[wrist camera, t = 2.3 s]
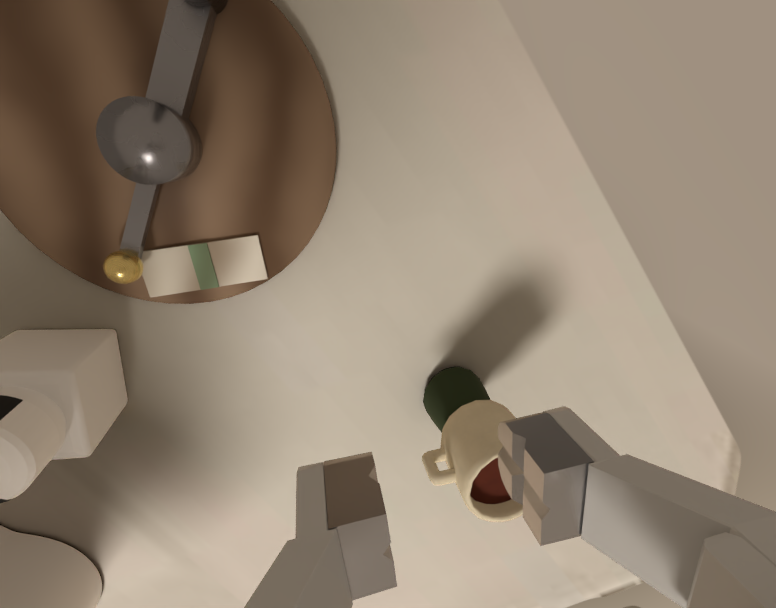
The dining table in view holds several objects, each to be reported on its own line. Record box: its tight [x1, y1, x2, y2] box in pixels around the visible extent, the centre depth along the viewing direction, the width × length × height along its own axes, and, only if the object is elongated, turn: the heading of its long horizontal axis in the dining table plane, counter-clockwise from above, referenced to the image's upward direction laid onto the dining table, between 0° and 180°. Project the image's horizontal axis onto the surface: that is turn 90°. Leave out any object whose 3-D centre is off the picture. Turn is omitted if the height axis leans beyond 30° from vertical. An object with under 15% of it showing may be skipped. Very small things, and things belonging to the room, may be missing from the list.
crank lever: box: [96, 0, 228, 284], centre depth 24 cm, size 5×22×9 cm, turn 162°
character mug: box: [422, 367, 523, 522], centre depth 35 cm, size 11×7×13 cm, turn 95°
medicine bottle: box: [0, 329, 128, 503], centre depth 28 cm, size 7×7×12 cm
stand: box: [0, 0, 336, 304], centre depth 28 cm, size 24×24×1 cm
